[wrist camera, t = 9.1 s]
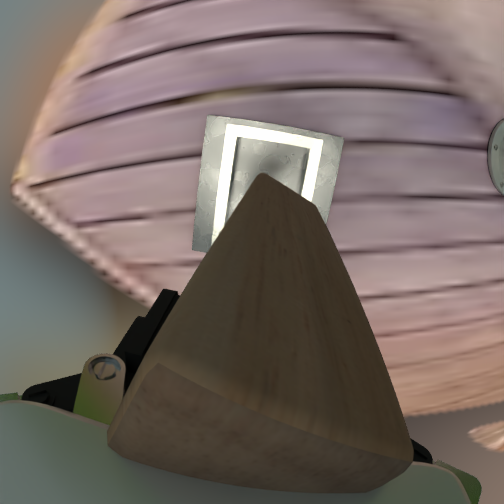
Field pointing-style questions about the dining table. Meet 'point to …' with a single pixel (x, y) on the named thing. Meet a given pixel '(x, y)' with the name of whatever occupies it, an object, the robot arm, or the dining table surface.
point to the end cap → (259, 168)
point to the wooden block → (267, 365)
